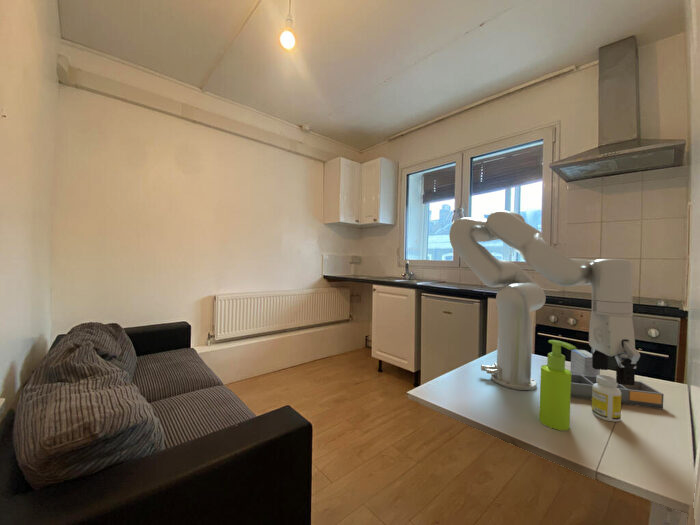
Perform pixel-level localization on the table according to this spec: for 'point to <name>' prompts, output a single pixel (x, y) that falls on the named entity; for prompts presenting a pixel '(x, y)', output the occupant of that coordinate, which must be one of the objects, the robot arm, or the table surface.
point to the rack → (629, 393)
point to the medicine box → (582, 363)
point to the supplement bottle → (606, 399)
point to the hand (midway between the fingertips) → (611, 376)
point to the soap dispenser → (555, 389)
